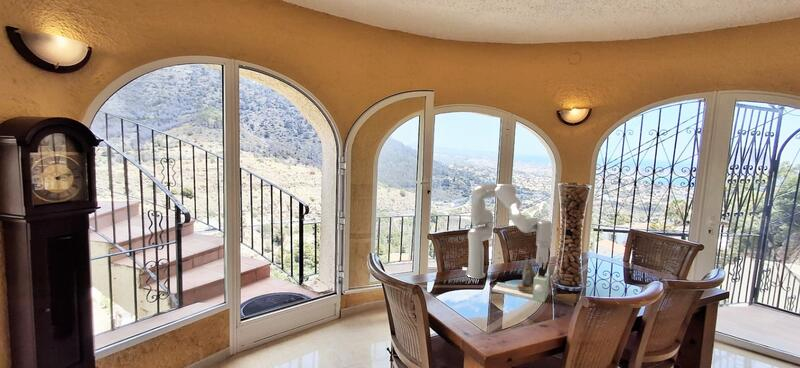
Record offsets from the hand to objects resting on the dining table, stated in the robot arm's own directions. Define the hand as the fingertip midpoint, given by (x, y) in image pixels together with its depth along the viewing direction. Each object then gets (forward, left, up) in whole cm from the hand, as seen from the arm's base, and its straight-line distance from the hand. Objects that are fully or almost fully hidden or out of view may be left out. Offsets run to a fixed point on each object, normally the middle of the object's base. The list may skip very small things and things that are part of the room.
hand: (541, 275), depth 210 cm
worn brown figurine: (-10, +19, -13) cm, 25 cm away
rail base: (-14, 0, -12) cm, 19 cm away
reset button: (0, 0, -3) cm, 3 cm away
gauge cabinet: (0, 0, -12) cm, 13 cm away
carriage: (-8, 0, -11) cm, 13 cm away
